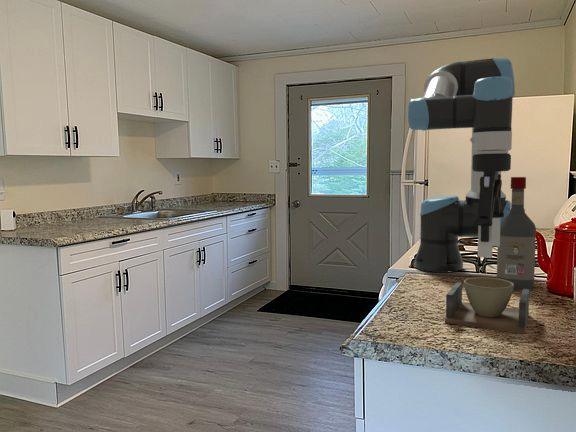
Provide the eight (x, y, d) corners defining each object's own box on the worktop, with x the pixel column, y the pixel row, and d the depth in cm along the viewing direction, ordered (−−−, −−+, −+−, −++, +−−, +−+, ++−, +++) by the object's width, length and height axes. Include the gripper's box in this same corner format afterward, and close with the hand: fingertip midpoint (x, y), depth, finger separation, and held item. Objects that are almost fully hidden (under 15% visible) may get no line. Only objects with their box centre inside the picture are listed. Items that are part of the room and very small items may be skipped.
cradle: (457, 305, 115) (457, 281, 114) (528, 314, 107) (529, 288, 107) (445, 322, 103) (445, 295, 102) (524, 333, 95) (525, 304, 95)
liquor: (533, 291, 126) (537, 177, 123) (495, 288, 130) (498, 177, 127) (534, 283, 134) (537, 176, 131) (498, 280, 138) (501, 176, 135)
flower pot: (518, 322, 99) (519, 288, 98) (467, 320, 101) (468, 287, 100) (506, 308, 109) (507, 277, 108) (460, 306, 111) (460, 276, 110)
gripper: (481, 153, 114) (479, 240, 116) (462, 153, 92) (460, 260, 95) (515, 152, 110) (513, 242, 113) (504, 152, 89) (501, 264, 91)
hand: (489, 251), depth 104 cm, fingers open, 13 cm apart
